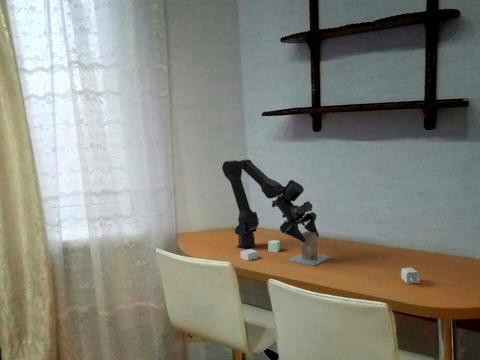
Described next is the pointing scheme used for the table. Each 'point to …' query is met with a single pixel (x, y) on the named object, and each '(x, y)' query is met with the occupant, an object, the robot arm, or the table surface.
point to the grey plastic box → (249, 254)
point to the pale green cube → (273, 246)
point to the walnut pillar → (309, 246)
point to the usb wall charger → (410, 275)
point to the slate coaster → (309, 262)
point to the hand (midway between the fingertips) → (311, 239)
